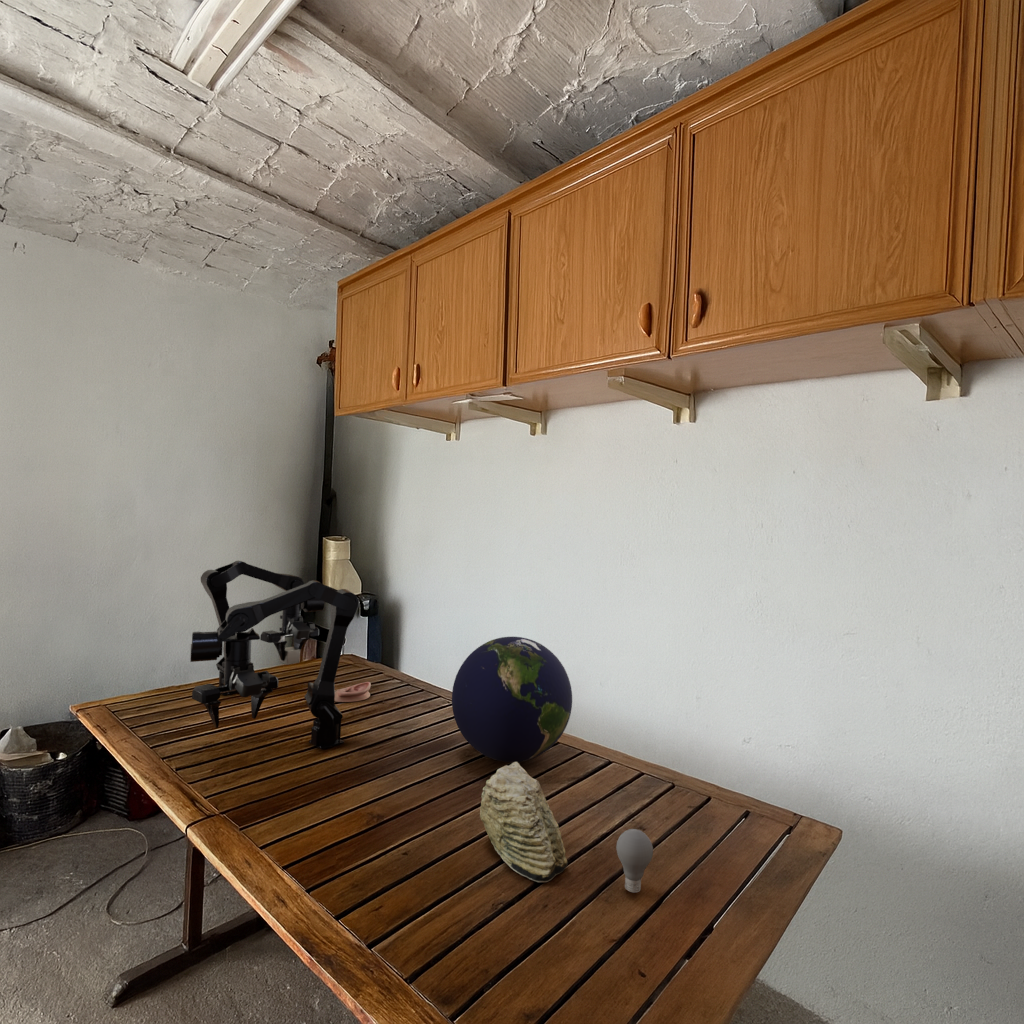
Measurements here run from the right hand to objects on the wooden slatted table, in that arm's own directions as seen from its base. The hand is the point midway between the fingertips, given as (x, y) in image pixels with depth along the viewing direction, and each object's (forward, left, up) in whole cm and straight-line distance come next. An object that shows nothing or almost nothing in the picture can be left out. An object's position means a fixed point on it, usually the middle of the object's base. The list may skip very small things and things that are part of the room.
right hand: (235, 722), depth 152 cm
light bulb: (-23, +96, -8) cm, 99 cm away
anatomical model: (-45, -20, -8) cm, 50 cm away
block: (-39, -46, -1) cm, 61 cm away
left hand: (-39, -46, 0) cm, 61 cm away
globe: (-48, +46, -8) cm, 67 cm away
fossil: (-17, +76, -8) cm, 78 cm away
